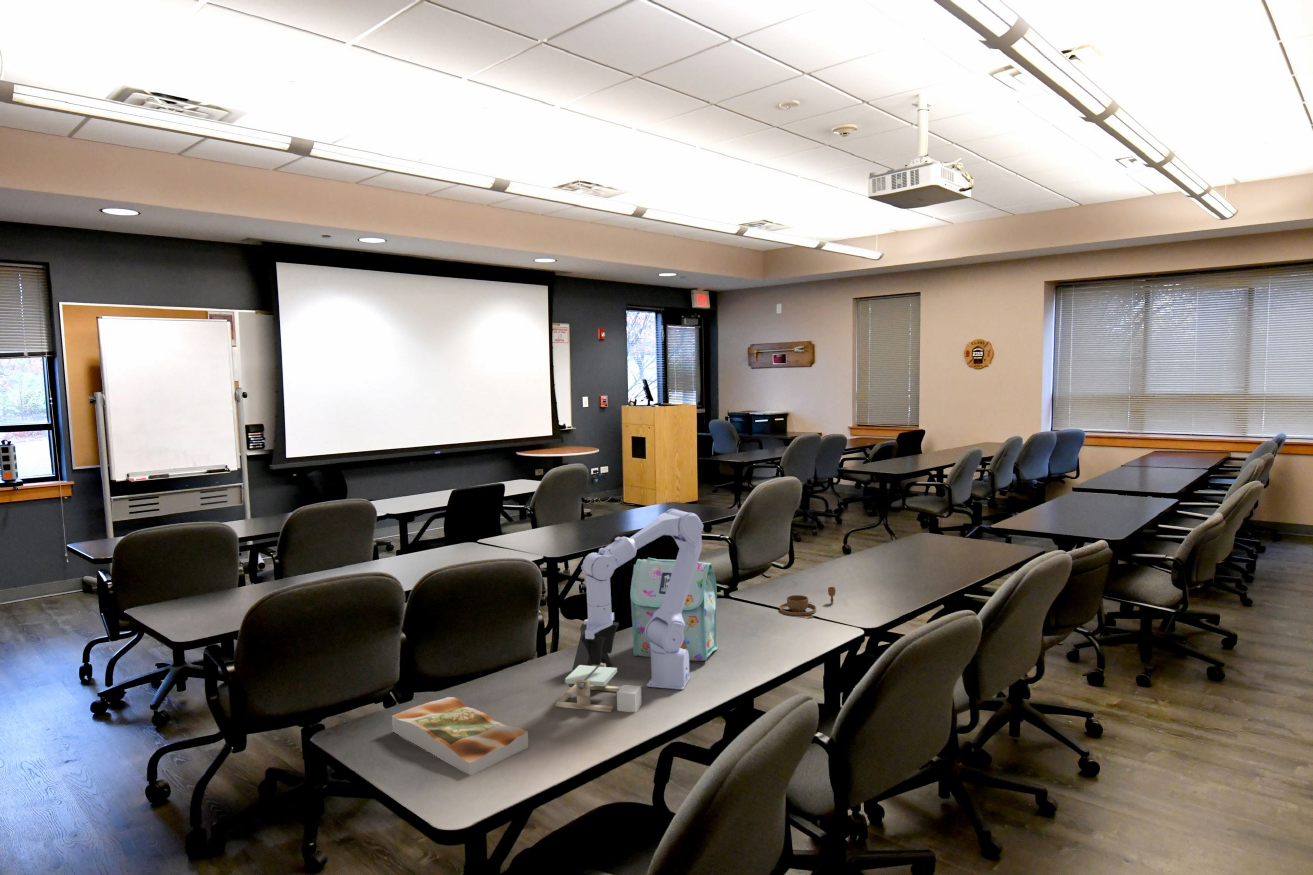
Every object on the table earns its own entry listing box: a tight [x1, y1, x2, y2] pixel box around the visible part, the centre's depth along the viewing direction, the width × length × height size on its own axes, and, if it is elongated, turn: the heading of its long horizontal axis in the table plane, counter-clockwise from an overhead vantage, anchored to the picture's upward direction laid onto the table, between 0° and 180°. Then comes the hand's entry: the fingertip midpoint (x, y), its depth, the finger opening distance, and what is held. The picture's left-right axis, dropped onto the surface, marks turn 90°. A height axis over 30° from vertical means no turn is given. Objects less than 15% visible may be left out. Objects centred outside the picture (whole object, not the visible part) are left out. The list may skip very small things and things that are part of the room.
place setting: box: [779, 586, 836, 619], centre depth 245 cm, size 18×20×6 cm
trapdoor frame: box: [555, 662, 622, 713], centre depth 182 cm, size 14×14×7 cm
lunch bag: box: [629, 557, 719, 662], centre depth 210 cm, size 23×16×27 cm
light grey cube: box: [616, 684, 642, 713], centre depth 176 cm, size 4×4×4 cm
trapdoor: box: [564, 665, 618, 688], centre depth 182 cm, size 10×9×2 cm
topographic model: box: [391, 696, 529, 776], centre depth 163 cm, size 30×14×5 cm, turn 49°
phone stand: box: [572, 622, 613, 671], centre depth 201 cm, size 9×6×12 cm, turn 128°
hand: (601, 658), depth 180 cm, fingers open, 7 cm apart
